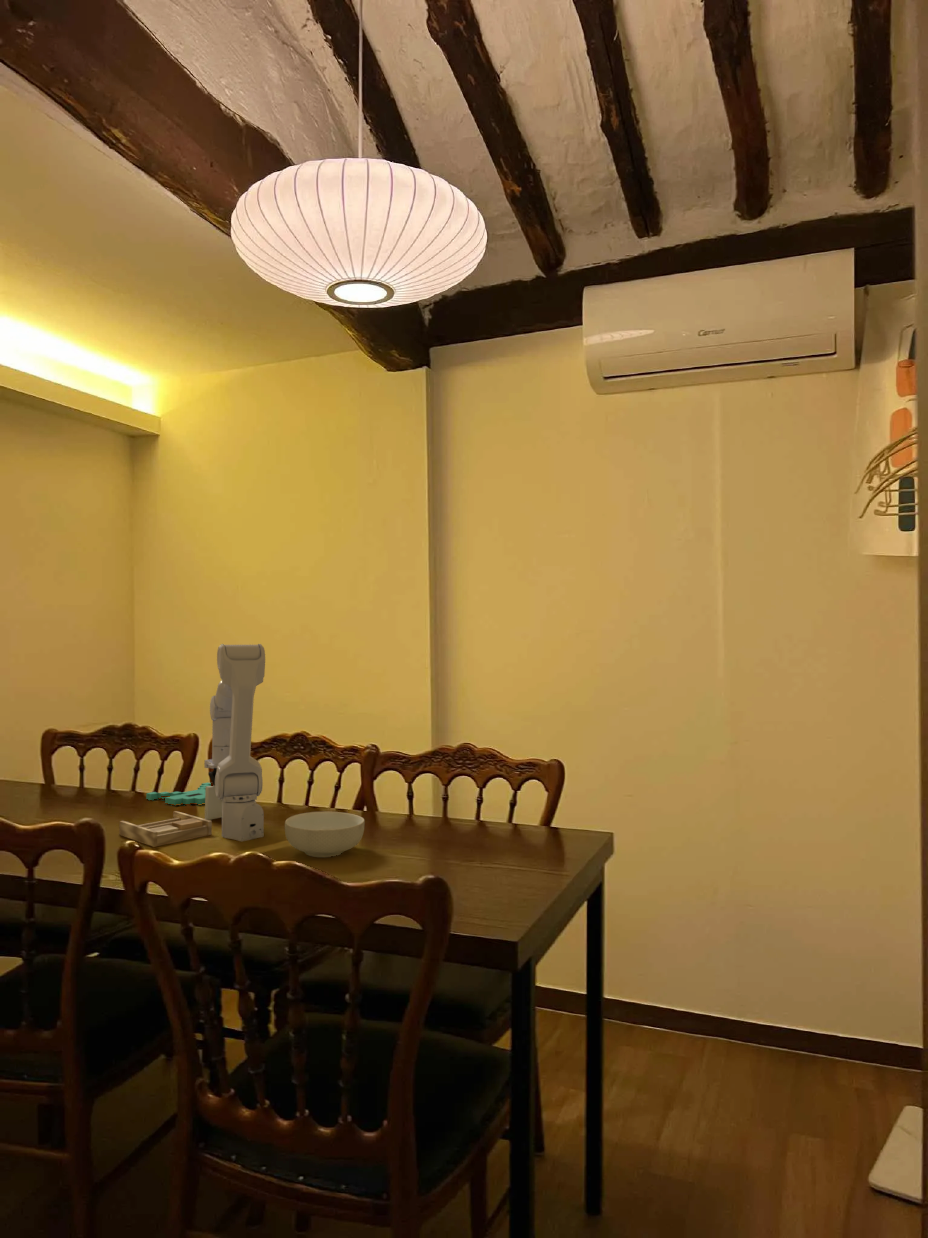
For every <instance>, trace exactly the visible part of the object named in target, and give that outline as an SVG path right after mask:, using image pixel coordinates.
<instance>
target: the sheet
mask: <svg viewBox="0 0 928 1238" xmlns="http://www.w3.org/2000/svg"><path fill="white" fill-rule="evenodd" d="M220 818H221V819H222V800H221V799H218V797H217V796H216V793H215V786H214V785H213V786H207V787H206V792H205V805H204V819H206V820H210V821H211V820H216V819H220Z"/></svg>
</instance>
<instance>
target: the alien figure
mask: <svg viewBox="0 0 928 1238" xmlns="http://www.w3.org/2000/svg"><path fill="white" fill-rule="evenodd" d="M211 783H212V782H203V783H201V785H199V787H197V789H194V790H187V791H183V792H181V791H173V792H172V791H171V792H170V791H161V792H156V791H152V792H146V794H145V795H146V796H145V797H146V798H145V799H148V801H150V800H152V801H155V800H154V799H157V800H159V799H158V798H162V799H164V798H165V800H164V804H165V803H168V804H174V805H176V804H181V803H183V804H190V803H197V804H202V803H205V792H206V787H207V786H211ZM161 796H170V797H161Z"/></svg>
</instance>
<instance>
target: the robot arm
mask: <svg viewBox="0 0 928 1238" xmlns="http://www.w3.org/2000/svg"><path fill="white" fill-rule="evenodd" d="M216 661H217V662H216V666H217V669H218V673H219V678H220V681H219V683H218V685H217V689H216V692H215V695H213V696H211V698H210V702H209V714H210V719H211V721H212V724H211V725H212V726H211V727H212V729H211V730H212V732H211V733H212V738H211V739H212V742H211V743H212V744H211V745H212V749H211V753H212V754H211V758H210V759H204V764H203V765H204V768H205V769H213V770H212V771H208V774H207V775H208V776H209V778H210V780H211V783H213V786H215V793H216V796H217V797H218V799H221V800H222V817H221V837H222V838H223V839H228V840H229V839H231V840H236V841H238V842H246V841H250V840H254V839H257V838H263V837H264V831H265V829H264V827H265V826H264V825H265V824H264V820H265V818H264V817H265V816H264V814H265V813H264V812H265V811H264V809H263V807H262V805H260V804H258V803H257V799H258V797H259V796H260V795H261V794H262V792H263V786H264V785H263V784H264V783H263V768H262V765H261V763H260V762H259V760H257V759H256V758H254V757H252V756H251V749H252V731H253V715H254V714H253V713H254V701H255V699H254V698H255V693H256V688H257V687H258V686H259V685H261V684H262V683H264V678H265V673H266V650H265V647H264V646H263V645H262V643H258V644H223V643H222V644H220V645H219V646H218V648H217V652H216Z"/></svg>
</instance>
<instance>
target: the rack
mask: <svg viewBox="0 0 928 1238" xmlns="http://www.w3.org/2000/svg"><path fill="white" fill-rule="evenodd" d="M172 813H173V814H172V818H169V819H165V820H164V819H163V820H160V821H154V822H148V823H144V824H134V823H132V822H129V821H125V820H120V821H119V826H118V828H119V830H118V832H119V833H118V835H120V836H122V837H125V838H128V839H131V840H132V841H136V842H139V843H142V844H145V845H147V846H149V847H153V848H154V847H159V846H164V845H168V844H174V843H177V842H178V843H179V842H183V841H188V840H192V839H197V838H202V837H206V836H210V835H212V832H213V831H212V830H213V829H212V827H213V826H212V825H213V824H212V823H213V822H212V820H211V819H210V820H206V819H205V818H203V817H202V818H201V817H199V816H195V815H191V814H188V813H184V812H180V811H177V810H174V811H172ZM192 818H193V819H197V820H200V821H202V826H200V827H195V828H190V829H185V830H180V831H175V832H170V833H165V834H160V835H157V832H156V831H153V830H150V829H151V828H157V827H162V826H167V825H170V826H172V822H176V821H181V820H187V819H192Z"/></svg>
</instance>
